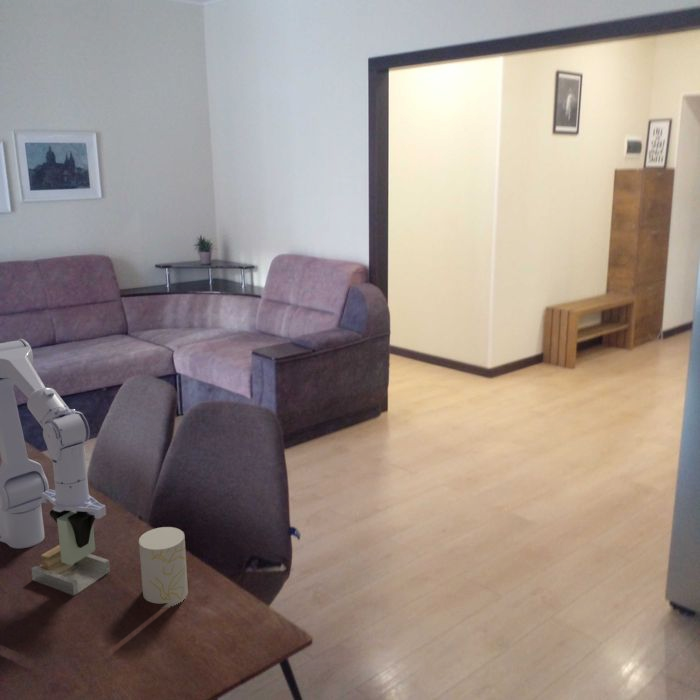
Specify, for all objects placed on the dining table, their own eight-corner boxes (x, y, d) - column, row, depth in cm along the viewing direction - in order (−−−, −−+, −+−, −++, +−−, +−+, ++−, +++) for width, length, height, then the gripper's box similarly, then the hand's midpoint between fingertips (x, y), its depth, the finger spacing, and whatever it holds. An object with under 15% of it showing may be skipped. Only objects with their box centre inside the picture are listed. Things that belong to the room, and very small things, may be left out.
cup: (154, 613, 127) (150, 554, 124) (136, 593, 133) (131, 536, 130) (195, 597, 132) (192, 539, 129) (176, 578, 138) (172, 522, 135)
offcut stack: (40, 576, 136) (38, 556, 135) (65, 561, 142) (63, 542, 140) (49, 579, 135) (47, 559, 134) (73, 564, 140) (71, 544, 139)
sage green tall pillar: (61, 562, 132) (56, 518, 130) (86, 547, 138) (82, 505, 135) (71, 565, 131) (66, 521, 129) (95, 550, 137) (91, 508, 134)
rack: (33, 584, 135) (31, 568, 135) (70, 562, 143) (68, 546, 142) (74, 600, 131) (72, 583, 130) (110, 575, 138) (109, 560, 138)
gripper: (25, 477, 130) (33, 543, 133) (82, 494, 124) (89, 563, 127) (56, 464, 136) (63, 527, 140) (112, 479, 130) (117, 544, 133)
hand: (77, 543), depth 134 cm, fingers closed on sage green tall pillar, 2 cm apart
